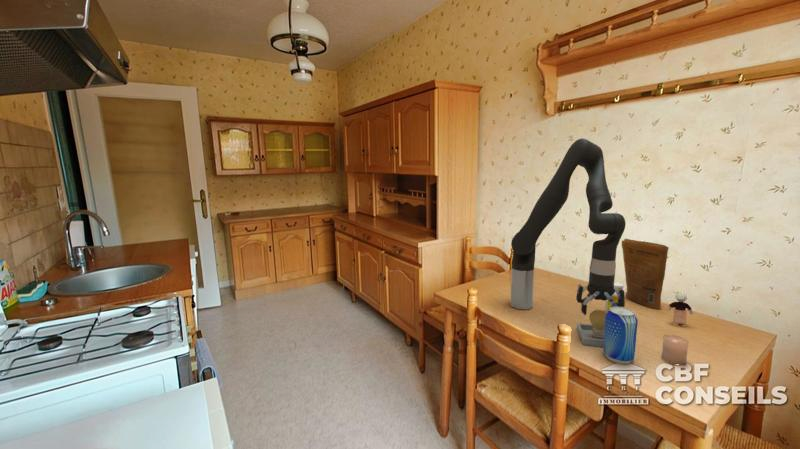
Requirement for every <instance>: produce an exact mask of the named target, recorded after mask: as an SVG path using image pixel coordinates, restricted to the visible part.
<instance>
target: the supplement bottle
mask: <svg viewBox="0 0 800 449" xmlns="http://www.w3.org/2000/svg"><path fill="white" fill-rule="evenodd" d="M619 288H622V289H623V290H624V284H623V283H621V282H615V281H614V289H619ZM611 298H612V299H613V300H614V302H615V303H616V302H618V295H617V294H616V292H615V293H614V294H613V295H612V296H611ZM625 305H626V292H625V291H624V308H626V307H625ZM611 306H612V304H611V303H610V301H609V300H608V299H607V300H605V307H604V311H605V312H607V313H608V311H609V310H610V308H611Z"/></svg>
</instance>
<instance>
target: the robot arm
mask: <svg viewBox="0 0 800 449" xmlns="http://www.w3.org/2000/svg"><path fill="white" fill-rule="evenodd" d="M604 159H605V158H604V153H603V149H602V148H601V147H600V146H599V145H597V144H595V143H593V142H592V141H590V140H588V139H586V138H579V139H576V140H575V141H574V142H573V143H571V145H570V147H569V148H568V149H567V151H566V153H565V155H564V157H563V159H562V160H561V162H560V164H559V166H558V168H557V169H556V172H555V174H554V175H553V177H552V178H551V179H550V181H549V183H548V184H547V186H546V188H544V190H543V192H542V193H541V195H540V196H539V198H538V199H537V201H536V202H535V205H534V206H533V208H532V211H531V212H530V214H529V216H528V218H527V220H526V222H525V224H523V225H522V227H521V228H520V230H519V231H518V232H517V233H515V235H513V237H512V239H511V249H512V257H511V273H510V274H511V278H510V280H511V281H510V308H514V309H518V310H525V311H526V310H530V309H533V305H534V285H535V284H534V280H535V279H534V277H535V263H536V262H535V261H536V249H537V248H536V247H537V245H536V244H537V242H538V240H539V239H540V238H539V237H540V236H541V234H542V233H543V231H544V230H545V229H546V228H547V226H548V225H549V224H550V223H551V222H552V221H553V220H554V218H555V217H556V216H557V214H559V212H560V211H561V209H562V208H563V206H564V205H565V203H566V202H567V200H568V198H569V192H570V182H571V178H572V175H573V173H574V172H575V170H576V169H577V167H578V166H580V167H582V168H584V170H585V172H586V174H587V176H588V181H587V184H586V185H585V186H586V187H585V196H586V199H587V203H588V206H589V208H588V209H589V215H588V225H587V226H588V228H589V230H590V232H591V233H592V234H595V235H607V236H606V237H605V238H603V239H599V240H595V241H593V243H592V249H591V259H590V262H589V263H590V264H589V274H588V275H589V276H588V284H587V285H586V286H585V285H582V284H578V285H577V290H576V296H575V297H576V298H575V299H576V302H577V303H580V304H581V305H580V306H581V308H580V310H581V313H582V314H583V316H586V315H587V313H588V312H587V310H588V309H587V308H588V305H587V304H589V303H590V302H592V301H593V300H595V301H596V300H597V301H605V302H606V300H607V299H608V300H609V301H610V303H611V304H612V306H611V307H624V292H625V290H624V288H623V289H622V288H619V289H614V282H615V280H616V279H615V278H616V269H617V268H616V267H617V265H616V264H617V263H616V258H617V249H618V247H619V246H618V245H619V243H620V241H621V238H622V237H623V234H624V232H625V230H626V219H625V217H624V215H622V214H620V213H615V212H614V213H612V212H611V213H609V212H608V211H609V210H611V209H612V208H613V206H614V205H613V204H614V203H613V200H612V197H611V193H610V190H609V187H608V184H607V180H606V179H607V178H606V170H605V160H604ZM605 212H607V213H605ZM586 290H587V292H588V293H587V294H586V295H584V296H585V297H583V293H585V291H586ZM615 292H616V294H617V295H618V302H616V303H615V302H614V300H613V299H612V298H611V296H612V295H613V294H614V293H615ZM624 308H625V307H624Z"/></svg>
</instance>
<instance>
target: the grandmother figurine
mask: <svg viewBox="0 0 800 449" xmlns="http://www.w3.org/2000/svg"><path fill="white" fill-rule="evenodd" d="M675 299H676V300H677V301H673V302H671V303H669V305H668V307H666V310H667V311H671V309H673V308H674V310H673V317H672V319H673V321H672V323H671V324H672V325H673V326H674V327H675V326H676V327H679V326H681V327H684V328H687V327H688V324H687V311H688V312H689V314H690V315H693V314H694V311H693V309H692V307H691V306H690V305H689V304H688V303H687V302H685V301H686V300H687V299H688V297H687V294H686V293H685V292H678V293H676V295H675Z"/></svg>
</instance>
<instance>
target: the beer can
mask: <svg viewBox="0 0 800 449" xmlns="http://www.w3.org/2000/svg"><path fill="white" fill-rule="evenodd" d="M637 331H638V318H637V315H635V311H634V310H632V309H630V308H629V307H628V308H627V307H611V308H610V310H609V311H608V313H607V314H606V320H605V333H604V347H602V348H603V350H602V351H603V355H605V357H606V359H608V360H609V361H612V362H614V363H616V364H620V365H621V364H622V365H626V364H630V363H632V361H634V360H635V354H636V343H637V334H638V332H637Z"/></svg>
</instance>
